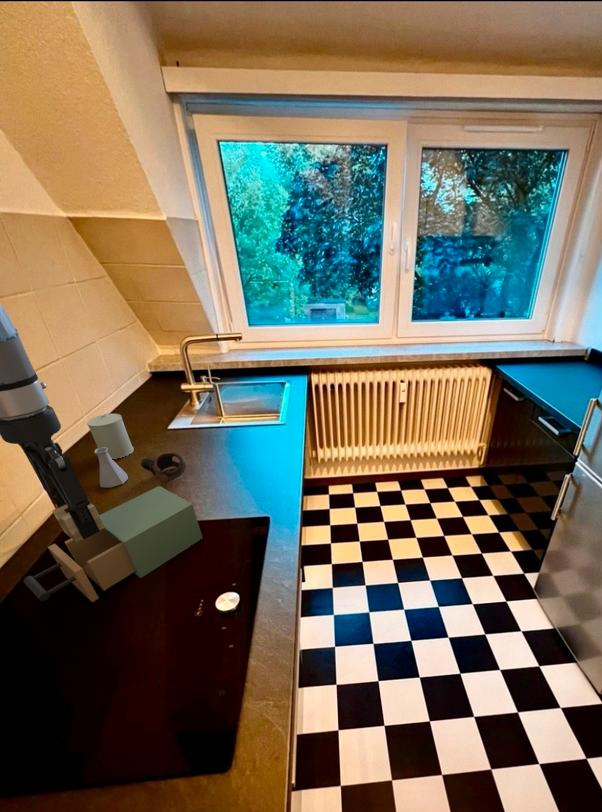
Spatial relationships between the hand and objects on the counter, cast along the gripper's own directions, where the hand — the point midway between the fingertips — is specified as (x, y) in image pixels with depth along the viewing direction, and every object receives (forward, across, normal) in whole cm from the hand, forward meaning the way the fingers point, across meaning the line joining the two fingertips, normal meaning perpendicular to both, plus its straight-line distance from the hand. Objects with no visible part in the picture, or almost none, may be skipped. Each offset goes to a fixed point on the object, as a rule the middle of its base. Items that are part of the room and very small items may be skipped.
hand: (83, 528), depth 71 cm
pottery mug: (+12, +25, -29) cm, 40 cm away
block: (0, 0, 0) cm, 0 cm away
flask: (+12, +35, -19) cm, 42 cm away
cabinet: (+12, 0, -11) cm, 16 cm away
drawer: (+11, 0, +1) cm, 11 cm away
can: (+12, +51, -28) cm, 59 cm away
